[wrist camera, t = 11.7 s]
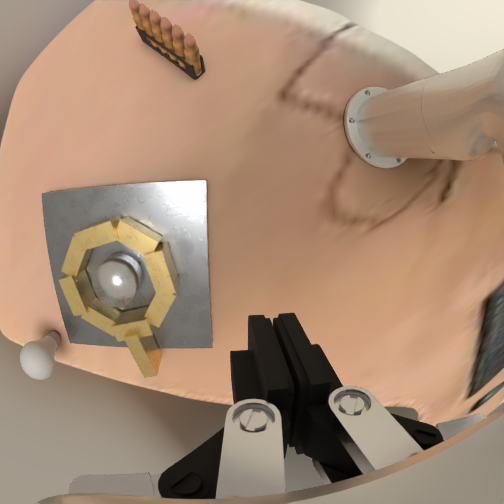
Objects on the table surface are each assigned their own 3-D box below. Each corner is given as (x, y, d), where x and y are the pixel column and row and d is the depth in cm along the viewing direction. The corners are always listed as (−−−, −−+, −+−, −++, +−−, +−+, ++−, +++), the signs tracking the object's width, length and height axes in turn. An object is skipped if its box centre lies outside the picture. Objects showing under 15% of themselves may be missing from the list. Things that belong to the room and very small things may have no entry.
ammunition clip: (142, 41, 29) (119, 1, 18) (152, 32, 29) (132, -10, 18) (195, 80, 32) (188, 45, 21) (205, 71, 32) (202, 33, 21)
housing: (206, 179, 36) (204, 181, 31) (212, 346, 43) (213, 370, 38) (48, 192, 33) (26, 197, 28) (76, 342, 41) (63, 362, 35)
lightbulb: (76, 346, 41) (52, 386, 30) (53, 351, 41) (28, 388, 30) (60, 316, 39) (29, 352, 28) (37, 323, 39) (7, 356, 28)
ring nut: (203, 346, 41) (202, 367, 36) (114, 362, 40) (105, 382, 35) (156, 204, 34) (147, 210, 29) (59, 236, 33) (41, 246, 29)
